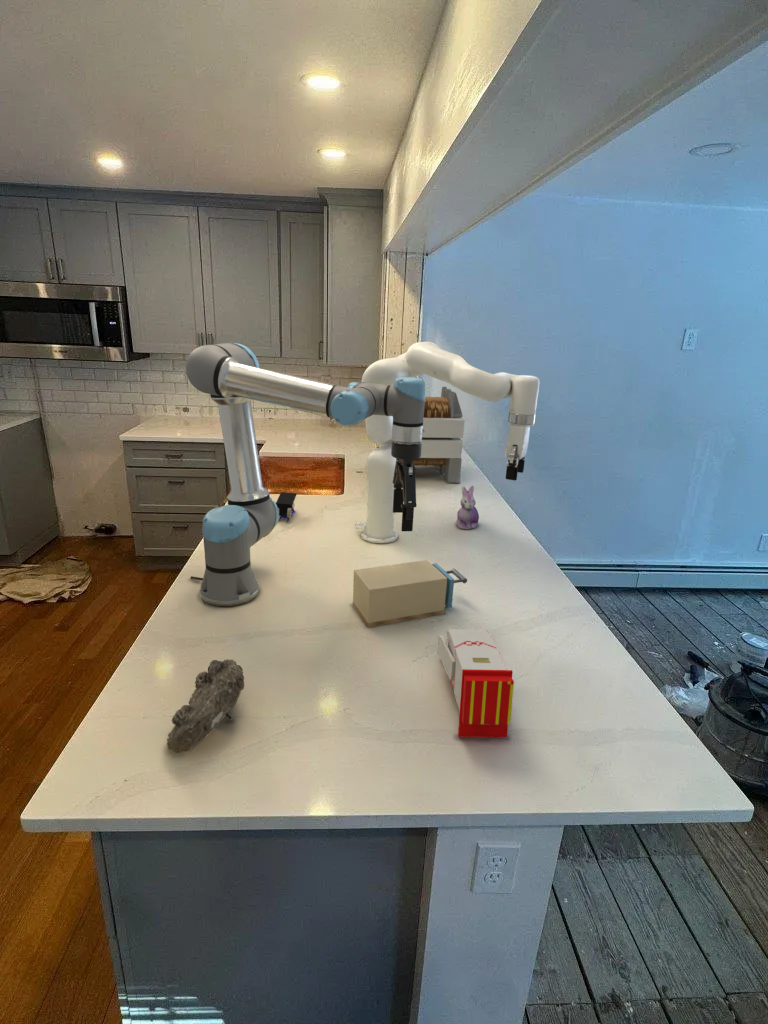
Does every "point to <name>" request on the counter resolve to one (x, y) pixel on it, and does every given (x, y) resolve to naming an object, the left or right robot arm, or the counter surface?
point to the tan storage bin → (398, 592)
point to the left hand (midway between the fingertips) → (402, 521)
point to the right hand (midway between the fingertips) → (514, 475)
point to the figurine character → (286, 505)
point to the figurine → (467, 510)
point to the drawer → (450, 583)
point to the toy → (478, 682)
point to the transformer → (442, 435)
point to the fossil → (206, 705)
